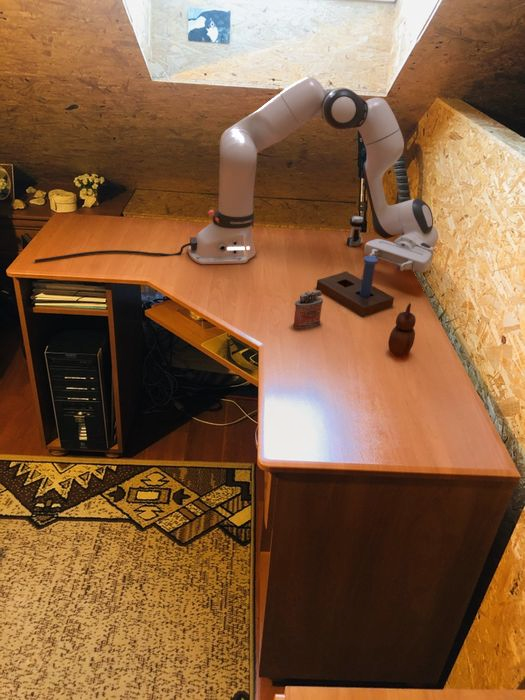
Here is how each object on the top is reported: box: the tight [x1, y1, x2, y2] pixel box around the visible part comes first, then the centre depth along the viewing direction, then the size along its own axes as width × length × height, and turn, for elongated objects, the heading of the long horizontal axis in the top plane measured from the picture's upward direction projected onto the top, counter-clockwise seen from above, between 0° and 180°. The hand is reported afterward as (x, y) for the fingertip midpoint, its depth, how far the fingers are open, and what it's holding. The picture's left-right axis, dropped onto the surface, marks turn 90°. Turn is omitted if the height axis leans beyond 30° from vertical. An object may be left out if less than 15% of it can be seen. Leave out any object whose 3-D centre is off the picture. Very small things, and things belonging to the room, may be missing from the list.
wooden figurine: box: [387, 302, 417, 358], centre depth 142 cm, size 7×6×15 cm
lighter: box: [292, 290, 324, 331], centre depth 152 cm, size 8×3×10 cm, turn 117°
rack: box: [316, 271, 395, 318], centre depth 169 cm, size 12×20×3 cm, turn 36°
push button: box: [346, 215, 366, 248], centre depth 202 cm, size 7×5×10 cm
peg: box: [359, 255, 379, 299], centre depth 164 cm, size 4×4×14 cm
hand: (385, 262), depth 169 cm, fingers open, 8 cm apart
